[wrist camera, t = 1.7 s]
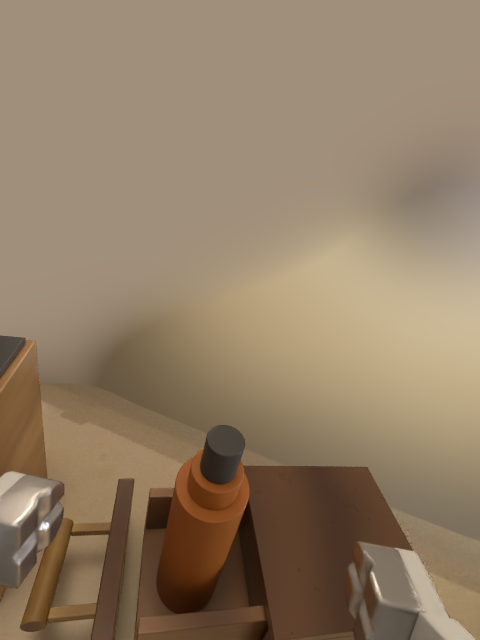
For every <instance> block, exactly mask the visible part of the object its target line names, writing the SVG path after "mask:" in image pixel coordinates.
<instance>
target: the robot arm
mask: <svg viewBox="0 0 480 640" xmlns="http://www.w3.org/2000/svg"><path fill="white" fill-rule="evenodd" d="M63 495H64V484H63V483H62V482H60V481H55V480H51V479H47V478H42V477H38V476H34V475H29V474H28V475H27V474H23V473H18V472H14V471H10V472H7V473H5V474H3V475H2V476H1V477H0V585H2V586H7V587H13V588H18V587H19V585H20V584H21V583H22V581H23V580H24V579H25V577H26V576H27V575H28V573H29V572H30V571H31V569H32V568H33V567H34V565H35V564H36V559H37V553H38V552H40V551H42V550H44V549H45V548H47V547H48V546H49V545H50V544H51V542H52V541H53V539H54V538H55V536H56V534H57V532H58V530H59V528H60V526H61V523H62V519H63V512H64V508H63V506H62V504H61V503H60V501H59V500H60V499H61V498H62V496H63ZM352 555H353V559H354V562H353V563H351V564H350V565H348V568H347V572H346V576H345V595H346V602H347V607H348V611H349V612H350V613H351V615H352V616H353V617H354V619H355V624H354V627H353V634H354V639H355V640H476V639H475V638H474V637H473V636H472V635H471V634H470V633H469V632H468V631H467V630H466V629H465V628H464V627H463V626H462V625H461V624H460V623H459V622H458V621H457V620H455V619H451V618H449V616H448V614H447V612H446V610H445V608H444V606H443V604H442V602H441V600H440V598H439V596H438V594H437V592H436V590H435V588H434V585H433V583H432V581H431V579H430V577H429V575H428V573H427V571H426V569H425V567H424V565H423V563H422V561H421V559H420V557H419V555H418V554H417V553H416V552H415V551H410V550H404V549H399V548H392V547H387V546H382V545H377V544H371V543H366V542H361V541H356V543H355V544H354V546H353V550H352Z"/></svg>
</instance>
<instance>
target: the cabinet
mask: <svg viewBox="0 0 480 640" xmlns="http://www.w3.org/2000/svg"><path fill="white" fill-rule="evenodd" d="M243 468H244V473H245V475H246V477H247V480H248V484H249V499H248V502H247V509H248V515H249V520H250V526H251V532H252V538H253V543H254V549H255V555H256V560H257V566H258V572H259V577H260V583H261V589H262V595H263V600H264V606H265V612H266V617H267V623H268V629H269V630H268V631H267V633H266V634H265V636H264V638H263V639H262V640H355V639H354V634H353V627H354V624H355V619H354V617H353V616H352V615H351V613H350V612H349V611H348V607H347V602H346V595H345V576H346V572H347V568H348V565H350V564H351V563H353V562H354V559H353V555H352V550H353V546H354V544H355V543H356V541H361V542H366V543H371V544H377V545H382V546H387V547H392V548H399V549H404V550H410V551H413V549H412V547H411V546H410V544H409V542H408V540H407V538H406V536H405V535H404V533H403V531H402V529H401V527H400V526H399V524H398V522H397V520H396V518H395V517H394V515H393V513H392V511H391V509H390V507H389V506H388V504H387V502H386V500H385V498H384V497H383V495H382V493H381V491H380V489H379V487H378V486H377V484H376V482H375V480H374V479H373V477H372V475H371V473H370V471H369V469H368V468H367V467H331V466H329V467H328V466H325V467H323V466H243ZM443 606H444V605H443ZM444 608H445V607H444ZM445 610H446V609H445ZM446 612H447V611H446ZM447 614H448V613H447ZM448 616H449V615H448ZM449 618H450V616H449Z"/></svg>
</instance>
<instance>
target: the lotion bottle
mask: <svg viewBox="0 0 480 640" xmlns="http://www.w3.org/2000/svg"><path fill="white" fill-rule="evenodd" d="M244 448H245V440H244V437H243V435H242V434H241V433H240V432H239V431H238V430H237V429H236V428H233V427H231V426H228V425H219V426H216V427H214V428H212V429H211V430H210V431H209V432H208V434H207V437H206V441H205V446H204V449H202V450H200V451H199V452H198V453H197V454H196V455H195V456H194V457H193V458H191V459H190V460H188V461H187V462H186V463H185V464H184V465H183V466H182V467H181V469H180V470H179V472H178V475H177V478H176V482H175V487H174V492H173V497H172V502H171V507H170V512H169V517H168V522H167V527H166V532H165V537H164V542H163V547H162V552H161V557H160V562H159V567H158V572H157V578H156V585H157V591H158V594H159V597H160V599H161V601H162V602H163V604H164V605H165V606H166V607H167V608H168V609H169V610H171V611H172V612H174V613H177V614H182V613H192V612H197V611H199V610H200V609H202V608H203V607H204V606H205V605H206V604H207V603H208V602H209V600H210V598H211V597H212V595H213V592H214V590H215V587H216V584H217V582H218V579H219V576H220V574H221V571H222V568H223V566H224V563H225V561H226V558H227V555H228V553H229V550H230V547H231V545H232V542H233V539H234V537H235V534H236V531H237V529H238V526H239V524H240V521H241V518H242V516H243V513H244V510H245V508H246V505H247V502H248V499H249V484H248V480H247V477H246V475H245V473H244V468H243V464H242V462H241V457H242V454H243V451H244Z"/></svg>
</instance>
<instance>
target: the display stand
mask: <svg viewBox="0 0 480 640" xmlns="http://www.w3.org/2000/svg"><path fill="white" fill-rule="evenodd" d="M10 471H14V472H18V473H23V474H27V475H28V474H29V475H34V476H38V477H42V478H47V468H46V456H45V444H44V432H43V420H42V408H41V396H40V384H39V372H38V361H37V349H36V341H33V340H25V338H21V337H10V336H0V477H1V476H2V475H3V474H5V473H7V472H10ZM5 587H6V586H2V585H0V600H1V597H2V595H3V592H4V590H5Z"/></svg>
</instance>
